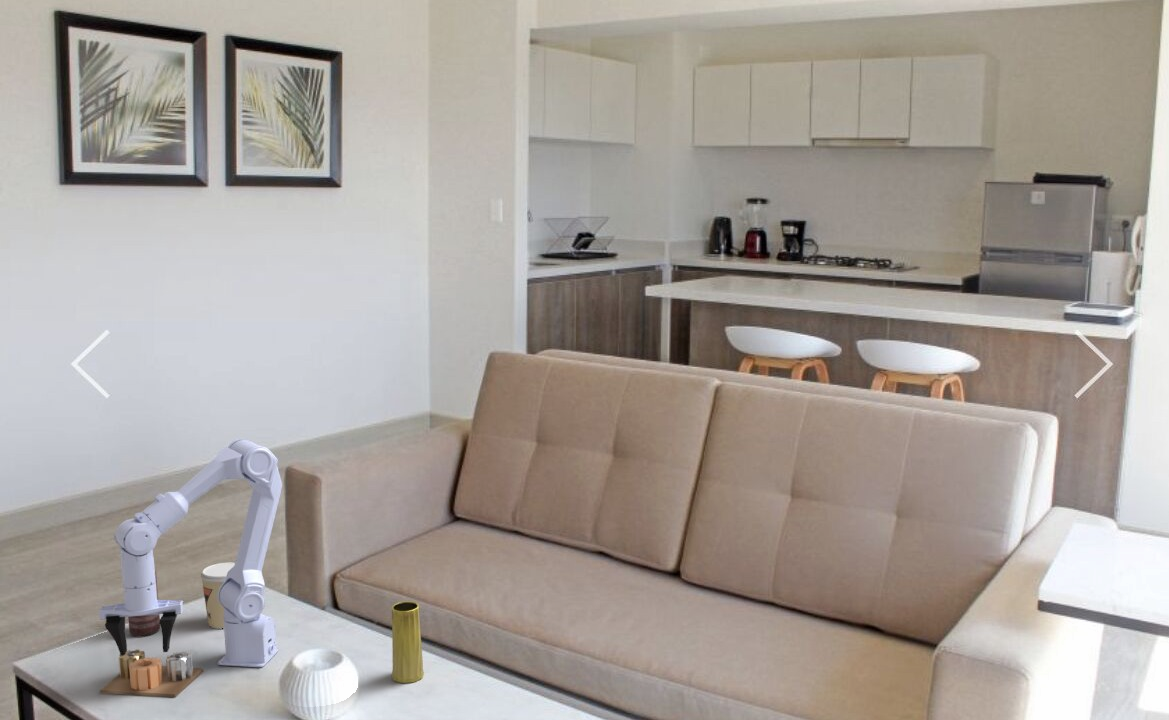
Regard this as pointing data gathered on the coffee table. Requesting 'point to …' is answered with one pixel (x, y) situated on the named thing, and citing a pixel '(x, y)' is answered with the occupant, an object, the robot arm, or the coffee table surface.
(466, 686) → the coffee table surface
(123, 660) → the gear
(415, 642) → the vase
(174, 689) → the gear board
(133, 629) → the can
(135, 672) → the idler gear
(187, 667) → the gear
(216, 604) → the coffee cup
